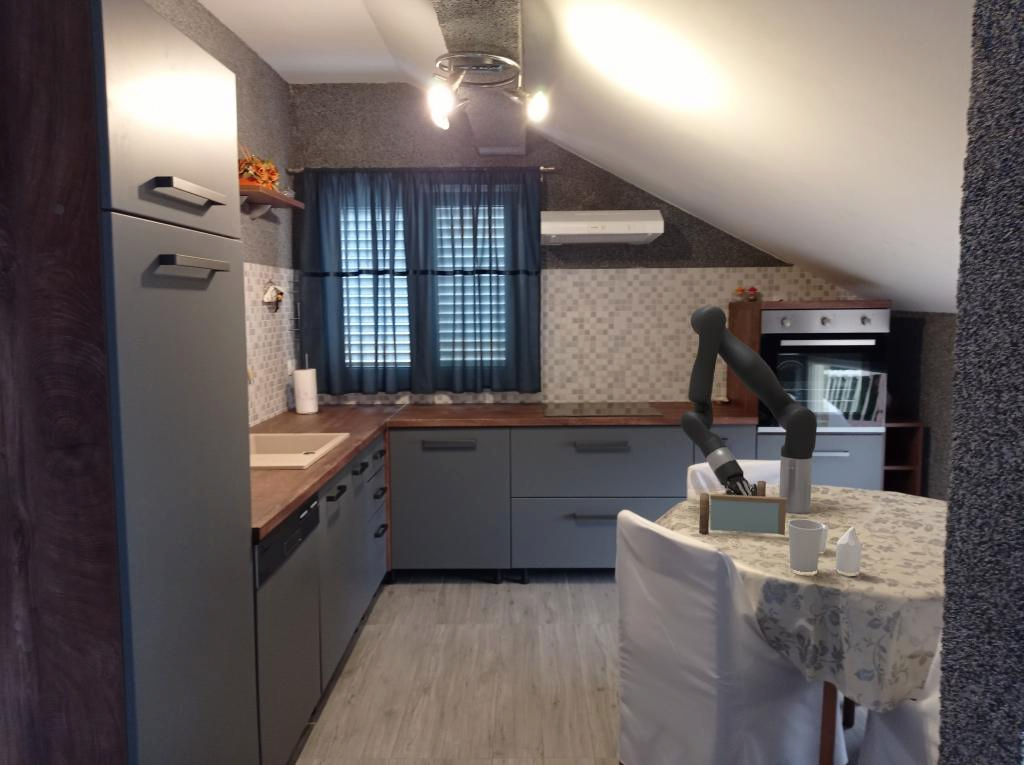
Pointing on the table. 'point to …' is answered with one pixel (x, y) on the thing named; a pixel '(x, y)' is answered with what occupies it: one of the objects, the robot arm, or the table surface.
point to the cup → (804, 544)
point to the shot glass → (823, 538)
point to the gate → (748, 513)
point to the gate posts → (705, 507)
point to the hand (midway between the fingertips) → (756, 516)
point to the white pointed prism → (849, 552)
